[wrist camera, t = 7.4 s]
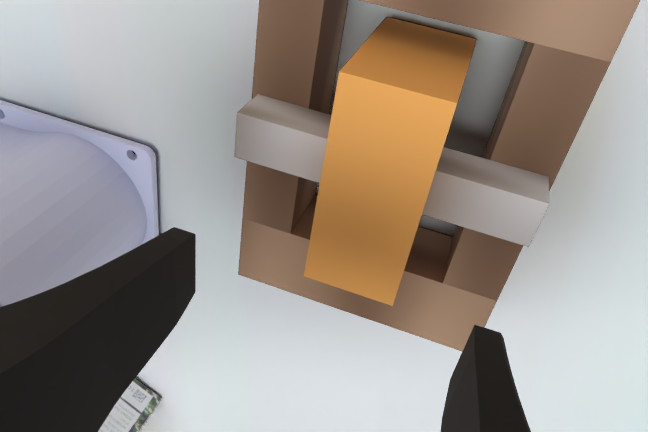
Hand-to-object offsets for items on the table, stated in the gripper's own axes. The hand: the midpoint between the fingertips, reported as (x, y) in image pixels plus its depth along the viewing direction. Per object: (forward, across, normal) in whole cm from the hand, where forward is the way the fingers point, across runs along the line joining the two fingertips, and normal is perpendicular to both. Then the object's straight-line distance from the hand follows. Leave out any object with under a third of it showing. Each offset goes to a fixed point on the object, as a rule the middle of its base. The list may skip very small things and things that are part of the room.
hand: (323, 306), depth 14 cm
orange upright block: (+9, 0, -1) cm, 9 cm away
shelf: (+9, 0, -1) cm, 9 cm away
